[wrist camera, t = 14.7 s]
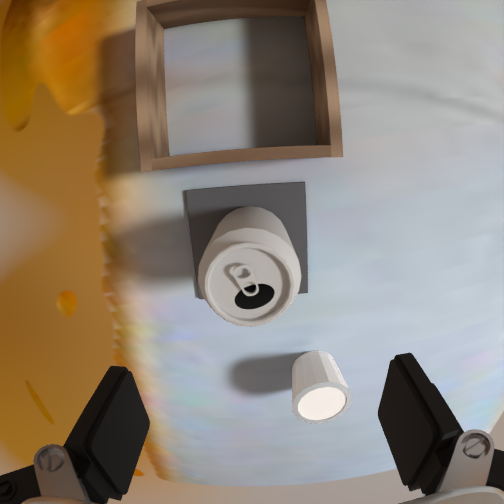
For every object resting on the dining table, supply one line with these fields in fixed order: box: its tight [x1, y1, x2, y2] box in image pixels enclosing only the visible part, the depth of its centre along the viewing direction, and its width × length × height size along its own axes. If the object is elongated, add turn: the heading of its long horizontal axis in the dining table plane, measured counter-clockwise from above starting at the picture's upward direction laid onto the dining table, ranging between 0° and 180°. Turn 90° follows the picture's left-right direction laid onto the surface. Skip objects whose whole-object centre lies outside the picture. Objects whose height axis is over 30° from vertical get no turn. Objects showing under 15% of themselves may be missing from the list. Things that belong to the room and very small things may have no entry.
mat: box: [186, 182, 308, 299], centre depth 33 cm, size 12×12×1 cm
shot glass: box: [292, 350, 352, 424], centre depth 34 cm, size 7×7×7 cm
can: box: [198, 206, 301, 326], centre depth 27 cm, size 8×8×12 cm
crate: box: [135, 0, 343, 172], centre depth 25 cm, size 17×17×6 cm
